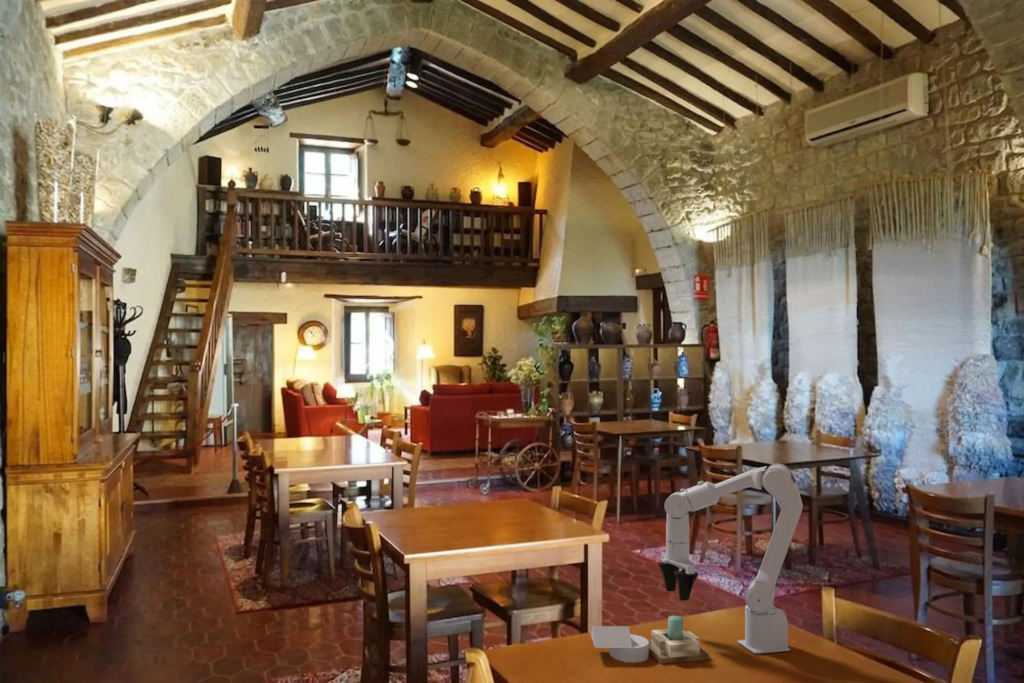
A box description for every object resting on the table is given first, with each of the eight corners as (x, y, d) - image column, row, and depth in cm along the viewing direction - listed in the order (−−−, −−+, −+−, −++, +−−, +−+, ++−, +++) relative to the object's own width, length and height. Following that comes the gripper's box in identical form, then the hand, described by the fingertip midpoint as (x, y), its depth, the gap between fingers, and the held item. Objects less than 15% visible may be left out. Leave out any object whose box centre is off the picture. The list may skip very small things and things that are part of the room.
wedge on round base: (594, 662, 174) (651, 663, 174) (595, 632, 174) (651, 633, 174) (590, 647, 183) (644, 648, 183) (590, 619, 183) (644, 619, 183)
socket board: (688, 643, 186) (688, 627, 186) (708, 659, 176) (708, 641, 176) (642, 647, 183) (642, 630, 183) (660, 663, 173) (660, 646, 174)
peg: (678, 644, 182) (678, 615, 182) (685, 650, 179) (686, 620, 179) (665, 646, 181) (665, 616, 181) (672, 651, 178) (673, 621, 178)
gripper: (650, 535, 198) (650, 587, 198) (676, 548, 184) (675, 605, 184) (675, 534, 200) (675, 586, 200) (702, 547, 186) (702, 603, 186)
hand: (677, 595), depth 192 cm, fingers open, 7 cm apart
